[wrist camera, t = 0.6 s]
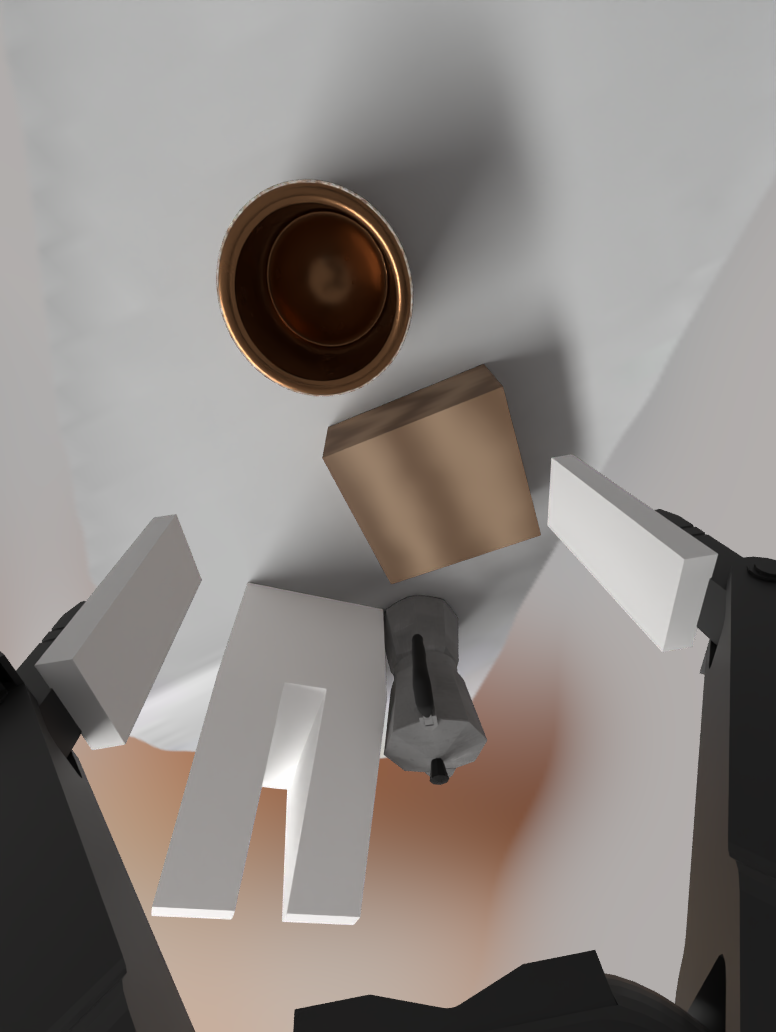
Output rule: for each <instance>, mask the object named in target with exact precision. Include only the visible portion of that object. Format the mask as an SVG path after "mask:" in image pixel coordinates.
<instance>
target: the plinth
mask: <svg viewBox="0 0 776 1032" xmlns="http://www.w3.org/2000/svg"><path fill="white" fill-rule="evenodd" d="M322 458H323V460H324V462H325V464H326V466H327V467H328V469H329V471H330V473H331V475H332V477H333V479H334V480H335V482H336V484H337V486H338V488H339V490H340V491H341V493H342V495H343V497H344V499H345V501H346V502H347V504H348V506H349V508H350V510H351V512H352V513H353V515H354V517H355V519H356V521H357V523H358V524H359V526H360V528H361V530H362V532H363V534H364V535H365V537H366V539H367V541H368V543H369V545H370V547H371V548H372V550H373V552H374V554H375V556H376V558H377V559H378V561H379V563H380V565H381V567H382V569H383V570H384V572H385V574H386V576H387V578H388V580H389V581H390V583H391V584H394V583H397V582H400V581H403V580H406V579H409V578H412V577H415V576H418V575H421V574H424V573H427V572H431V571H434V570H437V569H440V568H443V567H446V566H449V565H452V564H455V563H458V562H461V561H464V560H467V559H470V558H473V557H476V556H479V555H482V554H485V553H488V552H491V551H494V550H497V549H500V548H503V547H506V546H509V545H513V544H516V543H519V542H522V541H525V540H528V539H531V538H534V537H537V536H540V535H541V533H540V529H539V525H538V521H537V517H536V513H535V510H534V506H533V502H532V498H531V494H530V490H529V486H528V482H527V478H526V474H525V471H524V467H523V463H522V459H521V455H520V451H519V447H518V443H517V439H516V435H515V432H514V428H513V424H512V420H511V416H510V412H509V408H508V404H507V400H506V397H505V393H504V389H503V386H502V385H501V384H500V382H499V381H498V380H497V379H496V378H495V377H494V375H493V374H492V373H491V372H490V371H489V369H488V368H487V367H486V366H485V365H484V364H482V365H480V366H477V367H475V368H472V369H470V370H467V371H465V372H463V373H460V374H458V375H455V376H453V377H450V378H448V379H445V380H443V381H441V382H438V383H436V384H433V385H431V386H428V387H426V388H423V389H421V390H418V391H416V392H414V393H411V394H409V395H406V396H404V397H401V398H399V399H396V400H394V401H392V402H389V403H387V404H384V405H382V406H379V407H377V408H374V409H372V410H369V411H367V412H365V413H362V414H360V415H357V416H355V417H352V418H350V419H347V420H345V421H343V422H340V423H338V424H335V425H333V426H330V427H328V431H327V436H326V441H325V447H324V452H323V457H322Z"/></svg>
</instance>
